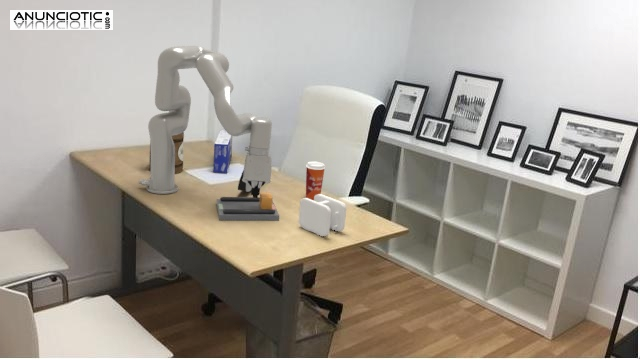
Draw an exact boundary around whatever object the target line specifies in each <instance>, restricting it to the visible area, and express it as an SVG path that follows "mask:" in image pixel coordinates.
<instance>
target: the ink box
mask: <svg viewBox="0 0 640 359" xmlns="http://www.w3.org/2000/svg"><path fill="white" fill-rule="evenodd" d="M232 152H233V136H232V135H230V134H228V133H227V132H226V131H225V129H224V130H222V129H221V130H220V131H219V133H218V135H217V137H216V140H215V142H214V145H213V165H212V166H213V169H212V172H213V173H217V174H218V173H220V174H228V170H229V166H230V164H231V160H232V157H233V156H232Z"/></svg>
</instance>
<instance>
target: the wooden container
mask: <svg viewBox="0 0 640 359" xmlns="http://www.w3.org/2000/svg"><path fill="white" fill-rule="evenodd" d="M184 133H185V131H184V132H182V133H180V134H177V135H173V136H172V139H173V142H174V145H175V175H176V174H181V173H182V172H183V171H184V138H185V134H184ZM149 143H150V144H149V171H150V172H151V142H150V141H149Z"/></svg>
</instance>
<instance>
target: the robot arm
mask: <svg viewBox="0 0 640 359" xmlns="http://www.w3.org/2000/svg"><path fill="white" fill-rule="evenodd" d="M229 68H230V62H229V60H228V58H227V56H225V54H223V53H221V52H218V51H215V50H212V49H208V48H205V47H201V46H199V45H198V46H197V45H186V46H185V45H179V46H178V45H177V46H172V47H168V48H166V49H164V50H163V51H162V52H161V53H160V54H159V56H158V59H157V77H156V85H155V94H154V106H155V107H156V109H157V110H159V111H162V113H158V114H156V115H153V116H152V117H151V118H150V119H149V121H148V126H147V129H148V133H149V139H150V140H149V143H150V142H151V171H150V177H149V178H147V179H144V178H143V179H141V178H139V180H138V184H139V185H141V186H146V191H148V192H149V193H151V194H155V195H156V194H158V195H167V194H169V195H170V194H174V193H176V192H178V191H179V186H178V185H177V184H175V181H176V180H175V175H176V174H175V145H174V142H173V139H172V136H173V135H177V134H180V133H182V132H184V133H185V131H186V130H187V128H188V127H189V126H188V125H189V120H190V111H191V103H192V97H191V93H190V91H189V90H188V88H186V86H184V85H180V82H181V79H180V78H181V77H180V72H179V70H187V69H196V70H197V72H198V74H199V75H200V77H201V79H202V80H203V82H204V83H205V85H206V87H207V88H208V90H209V92H210V94H211V95H212V96H213V105H214V112H215V114H216V115H215V116H216V118H217V119H218V121H219V123H220V124H221V126H222V127H223V129H224V130H225V131H226V132H227V133H228V134H230V135H232V137H239V136H243V135H246V134H247V135H248V134H250V135H249V145H248V146H245V147H244V148H245V149H244V150H245V151H247V152H246V155H245V159H244V166H243V170H244V172H243V171H242V172H243V175H244V176H243V179H242V181H243V182H245V183H249V185H250V186H251V187H252V189H251V190H250V195H251V196H252V197H253V198H255V197H256V198H258V197H259V196H260V193H261V192H260V190H261V188H262V187H263V186H264V185H266V184H270V183H272V182H271V178H272V155H271V154H270V147H271V146H270V144H271V137H272V136H271V135H272V126H273V125H272V124H273V123H272V120H271V119H270V118H268V117H259V116H257V115H255V114H253V113H249V112H245V113H244V112H243V113H241V114H240V113H239V114H236V111H235V110H234V109H233V107H232V105H231V100H230V97H231V93H232V92H233V90H234V84H233V83H232V81H231V80H230V78H229V76H228V75H227V72H229ZM163 112H164V113H163ZM255 181H258V183H257V185H256V186H255Z"/></svg>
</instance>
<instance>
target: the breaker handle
mask: <svg viewBox="0 0 640 359" xmlns="http://www.w3.org/2000/svg"><path fill="white" fill-rule="evenodd" d="M259 197H260V201H259V204H260V207H261V209H272V200H273V198H274V197H273V196H272V193H270V192H260V194H259Z"/></svg>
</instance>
